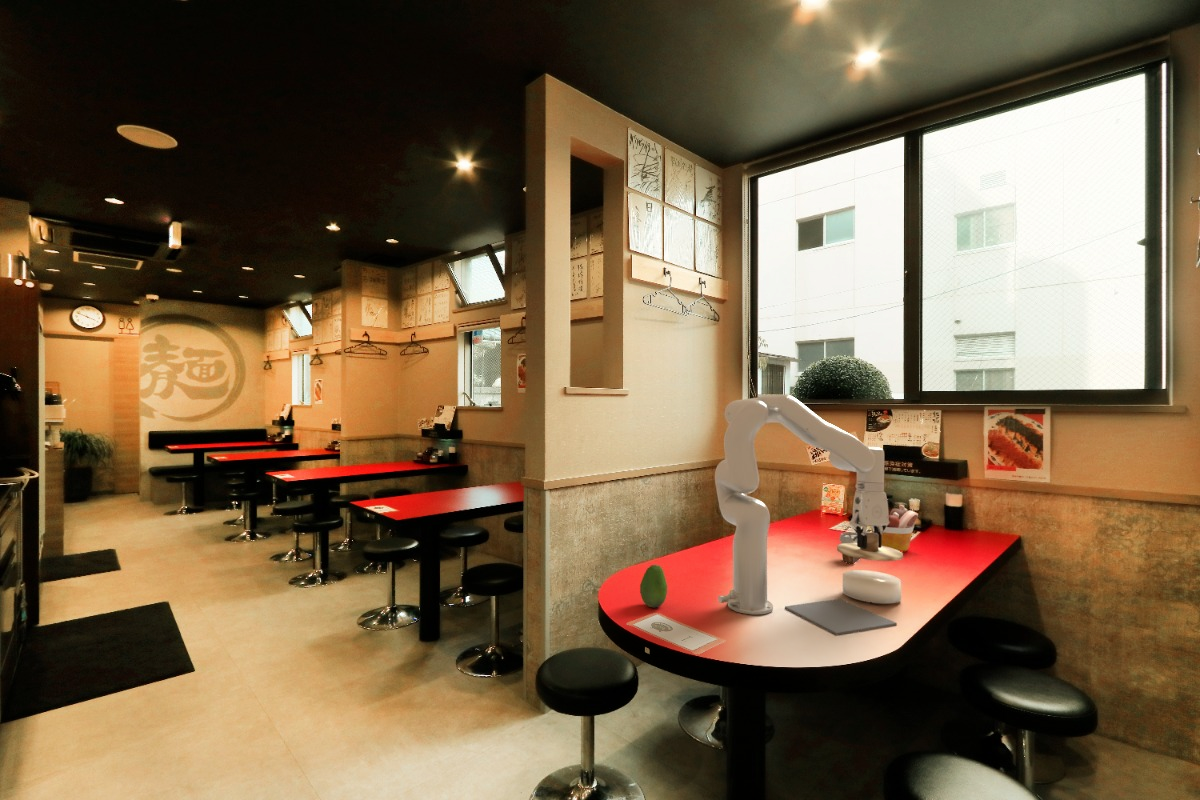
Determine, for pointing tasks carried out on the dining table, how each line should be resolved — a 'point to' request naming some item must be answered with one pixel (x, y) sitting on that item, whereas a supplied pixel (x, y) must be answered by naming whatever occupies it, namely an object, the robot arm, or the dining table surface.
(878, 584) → the ceramic bowl
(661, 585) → the avocado
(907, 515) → the bucket of meat
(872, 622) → the rubber mat
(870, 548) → the bamboo lid
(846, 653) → the dining table surface
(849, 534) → the food container
